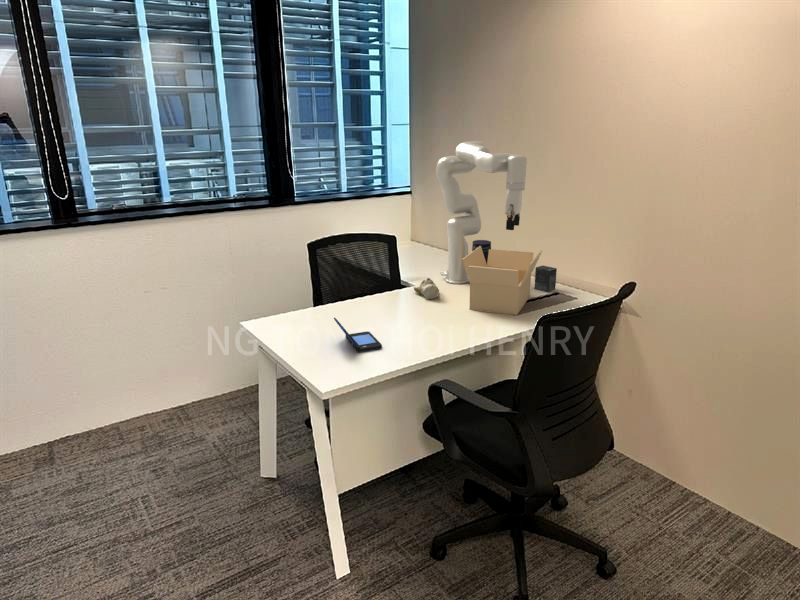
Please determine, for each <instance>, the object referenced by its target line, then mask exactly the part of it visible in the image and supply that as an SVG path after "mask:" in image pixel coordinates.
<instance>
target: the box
mask: <svg viewBox="0 0 800 600" xmlns="http://www.w3.org/2000/svg"><path fill="white" fill-rule="evenodd" d="M557 270H558V269H557V267H551V266H548V265H540V266H535V272H534V274H535V275H534V276H535V277H534V290H537V291H541V292H546V293H550V292H553V291H556V281H557Z"/></svg>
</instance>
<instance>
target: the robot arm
mask: <svg viewBox="0 0 800 600" xmlns="http://www.w3.org/2000/svg"><path fill="white" fill-rule="evenodd" d="M527 160H528V159H527V156H525V155H524V154H523V155H522V154H515V153H511V152H510V153H509V152H508V153H507V152H506V153H503V152H502V153H490V150H489V148H488V147H487V146H486V144H485V143H484V142H482V141H480V140H478V141H477V140H476V141H473V140H472V141H463V142H460V143H458V145H457V146H456V148H455V155H448V156H444V157H441V158H440V159H439V160H438V161H437V164H436V169H435V171H436V172H435V173H436V177H437V180H438V182H439V185H440V188H441V192H442V196H443V197H442V198H443V203H444V208H445V210H446V212H447V214H449V215H453V216H454V215H459V216H454V217H452V218H450V219H449V220H447V222H446V233H447V240H448V242H447V243H448V245H447V246H448V251H447V252H448V258H447V259H448V263H447V264H448V267H447V269H448V270H447V271H446V270H440V275H441V276H444V281H445V282H446V283H450V284H454V285H455V284H456V285H457V284H458V285H461V284H467V283H470V282H469V279H468V276H467V273H466V270H465V267H464V264H463V261H462V259H463V258H464V257H466V256H467V255H468V254H469V244H468V242H467V240H466V238H465V237H467V236H472V235H473V236H474V235H477V234H478V233H480V231H481V229H482V222H481V221H482V220H481V215H480V210H479V206H478V205H479V204H478V201H477V199H476V197H475V196H474V195H473V194H472V193H469V192H468V193H467V192H466V193H465V192H464V193H461V188H460V185H459V182H458V181H457V179H456V178H455V177H454V176H453V175H461V174H462V175H463V174H469V173H471V172H472V171H473V170H474V169H476V168H477V170H480V171H483V172H486V173H490V174H495V173H497V174H498V173H506V184H505V190H506V191H507V192H506V197H505V206H504V207H505V208H504V214H505V215H506V224H505V230H506V231H514V230H515V226H516V227H517V226H519V225H520V219H521V218H520V217H521V216H520V215H521V213H520V212H521V211H522V203H523V202H522V201H523V191H525V189H526V175H527V174H526V173H527V164H528V162H527ZM461 214H464V215H462V216H460V215H461Z"/></svg>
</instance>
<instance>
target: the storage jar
mask: <svg viewBox="0 0 800 600" xmlns="http://www.w3.org/2000/svg"><path fill="white" fill-rule="evenodd" d="M471 245H472V246H471V252H472V251H474V250H475V249H476V248H478V247H479V246H481V248H482V251H483V254H484V257H485V260H486V264H487V261H488V253H489V249H492V241H491V240H487V239H476V240H473V241H472V243H471Z"/></svg>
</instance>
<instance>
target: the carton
mask: <svg viewBox="0 0 800 600" xmlns="http://www.w3.org/2000/svg"><path fill="white" fill-rule="evenodd" d="M534 254H535V253H534V252H532V251H531V252H530V251H529V252H528V251H516V250H507V249H505V250H503V249H492V248H491V249H489V253H488V261H487V264H486V260H485V257H484V254H483V251H482V248H481V246H479V247H478V248H476V249H475V250H474V251H472V250H471V252H470V253H468V255H467V256H466V257H464V258H463V259H462V261H463V264H464V267H465V270H466V273H467V276H468V279H469V282H468V283H469V307H468V309H469V310H471V311H478V312H479V311H480V312H486V313H487V312H488V313H494V314H502V313H503V315H510V314H512V316H518V315H519V313H520V312H521V311H522V310H523V307H524V306H525V304H526V303H527V301H528V300H529V299H530V298H531V297H530V296H531V285H532V282H531V281H532V273H531V274H530V275H529V277H528V278H527V279H526V281H525V282H524V283H523V284H522V286H521V287H520V284H521V282H522V280H523V278H524V275H525V273H526V271H527V269H528V267H529V265H530V263H531V262H532V261H533V260H534Z"/></svg>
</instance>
